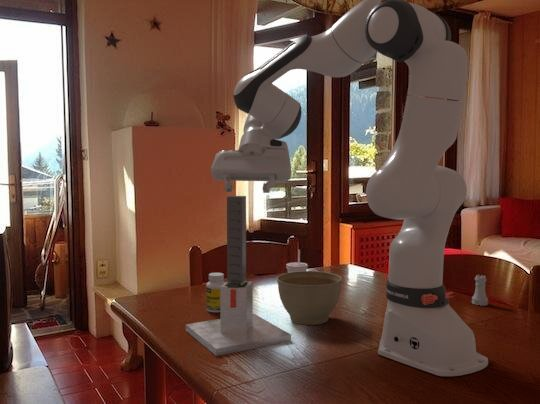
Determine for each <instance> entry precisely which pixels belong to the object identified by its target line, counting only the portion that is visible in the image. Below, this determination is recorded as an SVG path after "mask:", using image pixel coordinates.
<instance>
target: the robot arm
mask: <svg viewBox="0 0 540 404" xmlns="http://www.w3.org/2000/svg"><path fill="white" fill-rule="evenodd" d="M451 40H452V33H451V28H450V26H449V24H448V23H447V21H446V20H445V18H443V17H442V16H441V15H440V14H438V13H435V12H432V11H431V10H430V9H429V10H428V9H427V8H426V7H425V6H422V5H419V4H417V3H413V2H408V1H406V0H384V1H381V0H362V1H360V2H359V3H357V4H356V5H354V6H353V7H352V8H351V9H349V10H347V11H346V12H345V13H344V14H343V15H342V16H341V17H340V18H339V19H338V20H337V21H336V22H335V23H333V24H332V25H331V27H329V28H328V29H327V30H325V31H323V32H322V33H319V34H316V35H312V36H311V35H310V36H309V35H303V36H301V37H299V38H297V39H296V40H294V41H293V42H291V43H290V44H288V45H287V46H286V47H284V48H282V49H281V50H280V51H278V53H276V54H275V55H273V56H272V57H271V58H270V59H268V60H267V61H265V62H264V63H263V64H262V65H260V66H259V67H258V68H256V69H254V70H252V71H250V72H248V73H246V74H245V75H244V76H243V77H242V78H241V79H240V80H239V81H238V82H237V83H236V85H235V87H234V89H233V91H232V97H233V102H234V105H235V107H236V109H238V110H240V111H241V112H244V113H245V114H247V116H246V119H245V123H244V125H243V134H242V135H241V138H240V142H239V145H238V149H237V150H234V149H233V150H221V151H219V152H216V154H215V156H214V160H213V162H212V163H211V164H212V165H211V167H210V172H211V177H212V178H213V180H214V181H222V182H224V191H225V193H232V192H233V191H232V190H233V188H234V186H233V184H232V182H231V181H235V182H237V181H238V182H241V181H242V182H245V181H246V182H264V183H263V185H262V193H264V194H269V193H270V192H271V191H270V190H271V189H272V188H273V187H274V185H276V183H277V182H288V181H290V180H291V179H292V164H291V157H290V150H289V147H288V143H287V142H286V141H284V140H281V139H284V138H285V137H287V136H290V135H291V134H292V133H293V132H295V130H296V129H297V127H299V124H300V122H301V118H302V106H301V103H300V102H299V101H298V100H297V99H295V98H294V97H293V96H291V94H288V92H287V93H286V92H285V91H284V90H282V89H280V88H279V87H278V86H276V85H274V84H273V83H274V82H276V81H277V80H278V79H280V78H281V77H283V76H284V75H285V74H286V73H288V72H290V71H292V70H305V71H309V72H314V73H317V74H319V75H320V74H321V75H322V76H325V77H330V78H345V77H347V76H349V75H351V74H353V73H355V72H356V71H357V70H359V69H360V67H362V66H363V65H365V63H366V62H367V61H368V60H369V59H371V58H372V56H374V54H376V53H379V54H381V55H382V56H385V57H387V58H389V59H391V60H393V61H396V62H397V63H403V62H404V63H405V64H406V65H407V67H408V69H409V73H410V74H409V83H408V88H407V93H406V100H405V103H404V104H405V105H404V110H403V114H402V115H403V116H402V120H401V125H400V129H399V133H398V135H397V138H396V140H395V144H394V145H393V147H392V149H391V152H390V153H389V155H388V157H387V158H386V160H385V161H384V163H383V164H382V166H380V168H379V169H378V170H376V171H375V172H374V173H373V174H372V175H371V176H370V177H369V179H368V181H367V184H366V187H365V198H366V203H367V204H368V206H369V208H370V210H371V211H372V212H373V213H374V214H375V215H376V216H379V217H382V218H386V219H390V220H391V219H392V220H397V221H398V220H399V221H401V220H403V222H402V226H401V227H400V230H399V232H398V233H397V236H395V238H393V240H392V241H391V243H390V245H389V248H388V249H389V251H388V255H389V256H388V257H389V258H388V280H387V281H386V285H385V297H386V299H387V304H386V309H385V313H384V319H383V327H382V332H381V333H382V334H381V338H380V340H379V344H378V345H379V347H378V350H377V353H378V355H380V356H381V357H385V358H386V359H387V358H388V359H390V360H392V361H396V362H398V363H401V364H404V365H407V366H410V367H412V368H415V369H418V370H421V371H424V372H427V373H430V374H432V375H435V376H437V377H438V376H439V377H458V376H459V377H460V376H464V375H469V374H473V373H476V372H479V371H481V370H484V369H485V368H487V367H488V365H489V358H488V357H486V356H484V355H482V354H481V353H480V352H477V348H476V347H477V345H476V338H475V337H476V336H475V333H474V332H473V330H472V329H471V328H470V327H469V325H467V323H465V321H464V320H463V319H462V318H461V316H460V315H458V313H457V312H456V311H455V310H454V309H453V308H452V306H450V300H449V299H450V298H454V296H453V295H452V294H454V291H449V292H447V289H446V286H445V284H444V283H443V281H444V280H443V278H444V276H443V275H444V259H445V249H446V242H447V238H448V235H449V232H450V228H451V226H452V224H453V223H452V222H453V220H454V217H455V215H456V213H457V211H458V210H459V208H460V207H461V206H462V205H463V204H464V201H465V200H466V198H467V191H468V190H467V183H466V181H465V179H464V177H463V176H462V175H461V174H460V173H459V172H458V171H456V170H454V169H451V168H448V167H445V166H442V165H439V163H440V161H441V159H442V158H443V155H444V154H445V152H447V150H448V149H449V148H450V147H451V146H452V145H454V143H455V141H456V140H457V138H458V131H459V126H460V121H461V116H462V114H463V113H462V111H463V108H464V107H463V106H464V102H465V98H466V97H465V96H466V90H467V83H468V81H467V80H468V53H467V51H466V50H465V48H464V47H463V46H461V45H460V44H458V43H456V42H454V41H451ZM265 182H266V183H265Z"/></svg>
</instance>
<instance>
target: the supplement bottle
mask: <svg viewBox="0 0 540 404" xmlns="http://www.w3.org/2000/svg"><path fill="white" fill-rule="evenodd" d="M224 277H225V274H224V273H222V272H210V273H209V274H208V280H209V281H208V282H206V285H205V286H206V287H205V294H206V295H205V300H206V304H205V305H206V312H210V313H220V287H221V286H222V285H223V284H224V283H225V282H226V281H224V280H225V278H224Z"/></svg>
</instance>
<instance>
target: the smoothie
mask: <svg viewBox="0 0 540 404" xmlns="http://www.w3.org/2000/svg"><path fill="white" fill-rule="evenodd" d="M297 250H298V251H297V261H296V262H295V261H294V262H288V263H286V264H285V265H286V266H285V268H286V269H287V273H290V272H298V271H308V270H307V269H308V268H309V265H308V263H306V262H301V249H297Z"/></svg>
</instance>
